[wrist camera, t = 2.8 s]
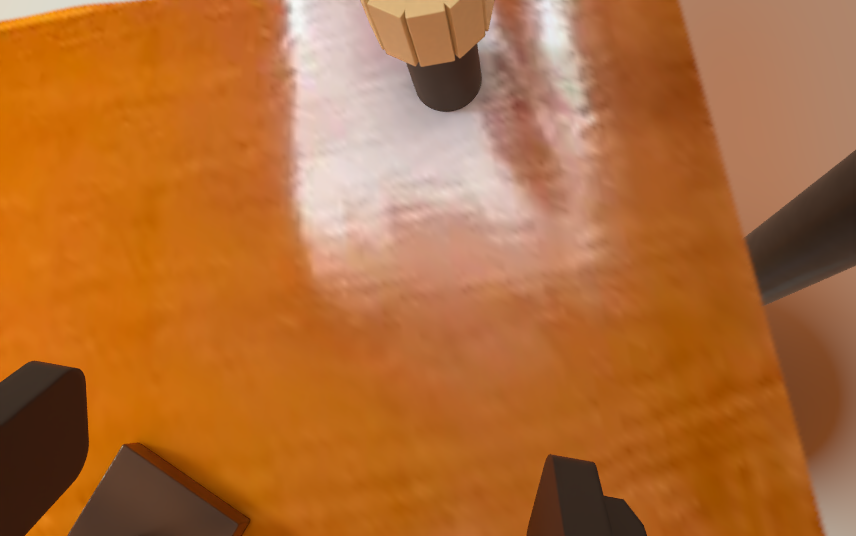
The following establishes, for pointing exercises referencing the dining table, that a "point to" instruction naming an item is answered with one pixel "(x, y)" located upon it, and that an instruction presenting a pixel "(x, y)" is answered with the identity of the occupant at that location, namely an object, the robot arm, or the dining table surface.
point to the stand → (154, 502)
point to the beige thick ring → (428, 27)
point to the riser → (448, 82)
